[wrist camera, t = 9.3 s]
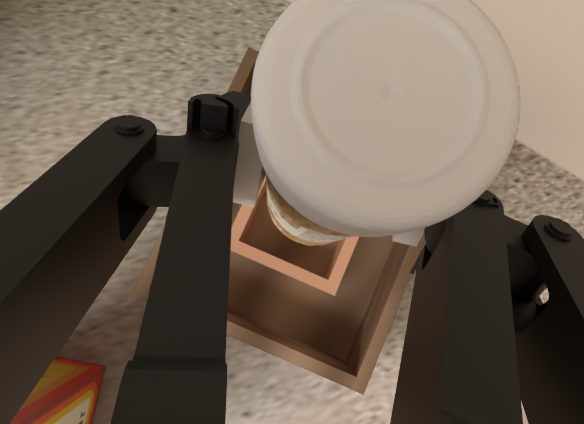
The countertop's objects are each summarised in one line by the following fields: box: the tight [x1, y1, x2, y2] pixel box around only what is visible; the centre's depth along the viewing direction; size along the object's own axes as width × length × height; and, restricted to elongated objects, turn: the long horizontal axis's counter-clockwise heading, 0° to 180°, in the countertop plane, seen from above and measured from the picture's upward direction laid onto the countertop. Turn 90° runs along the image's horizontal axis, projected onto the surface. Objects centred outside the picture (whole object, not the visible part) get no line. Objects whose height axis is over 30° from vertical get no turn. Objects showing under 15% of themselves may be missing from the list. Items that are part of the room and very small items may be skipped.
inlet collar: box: [230, 176, 359, 296], centre depth 30 cm, size 8×8×3 cm
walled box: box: [132, 48, 425, 395], centre depth 30 cm, size 16×18×5 cm
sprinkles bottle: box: [251, 0, 520, 246], centre depth 13 cm, size 5×5×13 cm
